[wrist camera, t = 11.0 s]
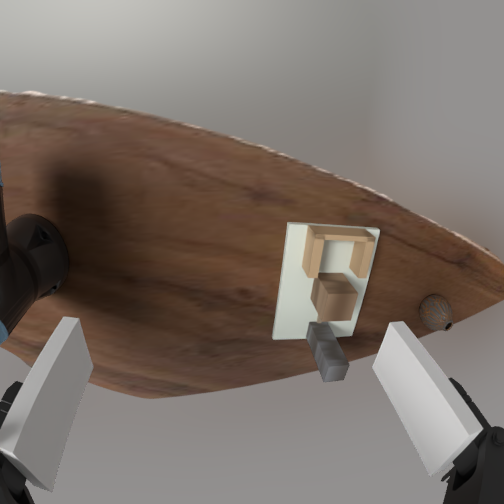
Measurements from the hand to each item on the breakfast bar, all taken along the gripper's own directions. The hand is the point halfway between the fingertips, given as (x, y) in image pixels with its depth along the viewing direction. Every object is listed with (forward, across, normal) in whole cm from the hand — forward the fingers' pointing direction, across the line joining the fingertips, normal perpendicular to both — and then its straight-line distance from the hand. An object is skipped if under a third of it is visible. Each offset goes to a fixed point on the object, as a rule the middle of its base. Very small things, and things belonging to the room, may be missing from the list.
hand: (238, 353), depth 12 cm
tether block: (+34, +18, -20) cm, 43 cm away
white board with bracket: (+35, +18, -16) cm, 42 cm away
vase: (+35, +44, -21) cm, 60 cm away
